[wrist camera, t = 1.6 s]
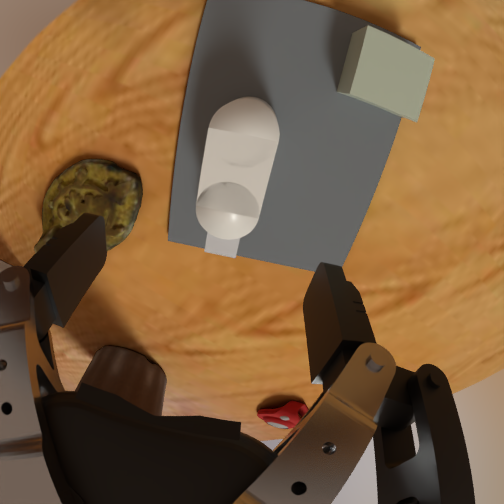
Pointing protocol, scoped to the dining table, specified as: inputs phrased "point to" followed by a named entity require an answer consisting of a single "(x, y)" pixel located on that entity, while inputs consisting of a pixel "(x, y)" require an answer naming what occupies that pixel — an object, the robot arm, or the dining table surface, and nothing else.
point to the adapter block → (386, 73)
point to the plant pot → (127, 378)
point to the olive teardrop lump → (93, 199)
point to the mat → (286, 127)
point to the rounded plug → (235, 172)
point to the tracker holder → (283, 415)
